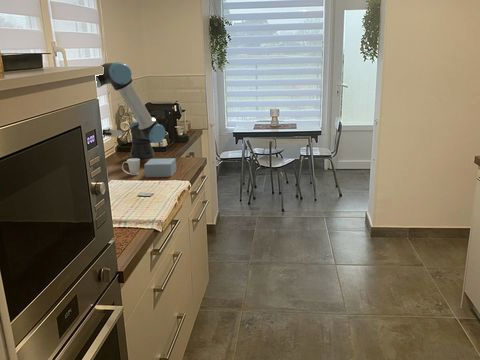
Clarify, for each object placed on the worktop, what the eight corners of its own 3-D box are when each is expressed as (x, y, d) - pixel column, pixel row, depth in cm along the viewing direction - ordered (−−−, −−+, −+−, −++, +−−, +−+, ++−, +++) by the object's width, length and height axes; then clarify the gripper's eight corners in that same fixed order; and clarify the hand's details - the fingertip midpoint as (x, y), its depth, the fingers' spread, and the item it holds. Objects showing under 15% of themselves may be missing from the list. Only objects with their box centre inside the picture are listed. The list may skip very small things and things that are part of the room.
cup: (139, 175, 243) (138, 160, 241) (121, 176, 243) (119, 161, 241) (142, 172, 250) (141, 158, 248) (124, 173, 250) (123, 158, 248)
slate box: (151, 171, 254) (150, 158, 252) (176, 170, 253) (175, 158, 252) (145, 177, 239) (144, 164, 238) (171, 177, 239) (170, 164, 237)
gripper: (84, 136, 253) (122, 139, 256) (73, 139, 229) (116, 142, 232) (84, 123, 252) (123, 125, 255) (73, 124, 228) (116, 127, 231)
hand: (120, 133), depth 243 cm, fingers open, 13 cm apart
